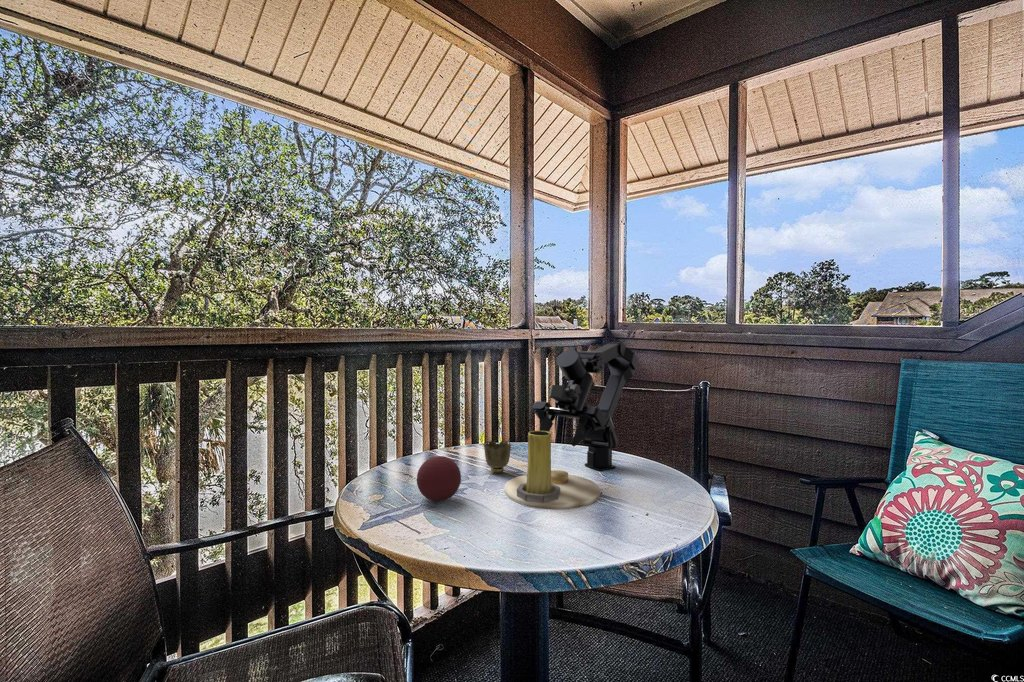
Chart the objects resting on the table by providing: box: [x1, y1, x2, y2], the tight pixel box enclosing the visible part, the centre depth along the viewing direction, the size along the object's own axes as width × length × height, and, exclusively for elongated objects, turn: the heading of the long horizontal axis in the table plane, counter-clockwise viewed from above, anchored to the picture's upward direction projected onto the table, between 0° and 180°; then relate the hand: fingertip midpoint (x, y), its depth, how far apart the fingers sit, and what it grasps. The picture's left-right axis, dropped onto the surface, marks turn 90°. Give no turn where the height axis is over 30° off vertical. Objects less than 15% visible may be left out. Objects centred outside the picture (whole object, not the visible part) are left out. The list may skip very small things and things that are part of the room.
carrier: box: [504, 469, 601, 510], centre depth 115 cm, size 23×23×3 cm
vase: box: [526, 430, 552, 494], centre depth 109 cm, size 6×6×14 cm
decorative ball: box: [416, 455, 462, 502], centre depth 108 cm, size 10×10×10 cm
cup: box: [483, 440, 512, 475], centre depth 130 cm, size 8×7×8 cm
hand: (556, 443), depth 115 cm, fingers open, 9 cm apart
